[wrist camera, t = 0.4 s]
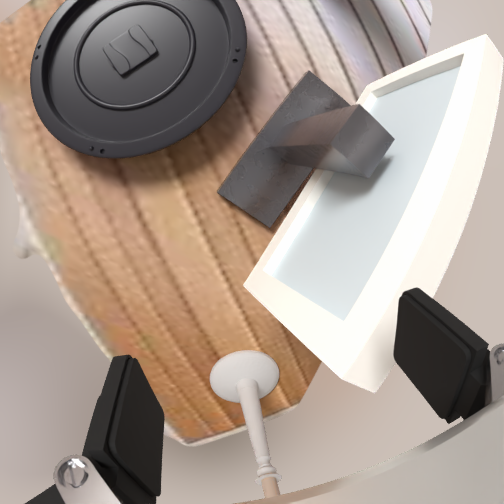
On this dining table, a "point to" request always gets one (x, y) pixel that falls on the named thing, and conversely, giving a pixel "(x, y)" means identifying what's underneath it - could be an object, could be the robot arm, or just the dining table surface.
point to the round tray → (135, 71)
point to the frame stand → (304, 148)
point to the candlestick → (250, 402)
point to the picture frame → (385, 214)
